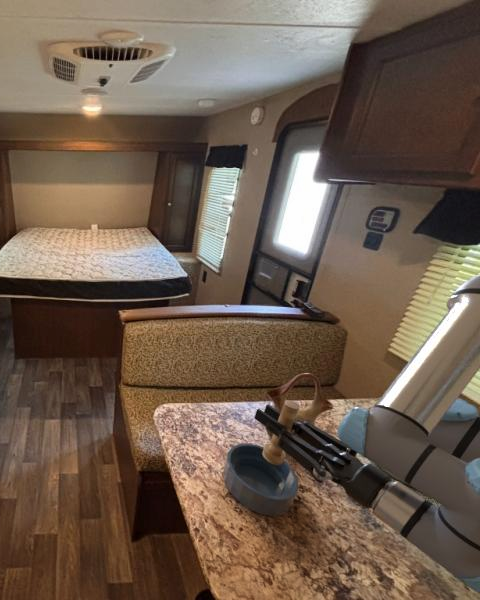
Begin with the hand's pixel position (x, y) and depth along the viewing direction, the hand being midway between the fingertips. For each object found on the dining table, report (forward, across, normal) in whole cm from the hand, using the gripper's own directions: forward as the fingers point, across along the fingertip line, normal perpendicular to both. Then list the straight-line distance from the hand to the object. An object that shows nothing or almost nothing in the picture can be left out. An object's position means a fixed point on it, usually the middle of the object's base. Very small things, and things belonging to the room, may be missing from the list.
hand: (261, 411), depth 76 cm
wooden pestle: (-5, 0, -10) cm, 11 cm away
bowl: (-4, 0, -21) cm, 22 cm away
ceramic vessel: (+1, +20, -21) cm, 29 cm away
